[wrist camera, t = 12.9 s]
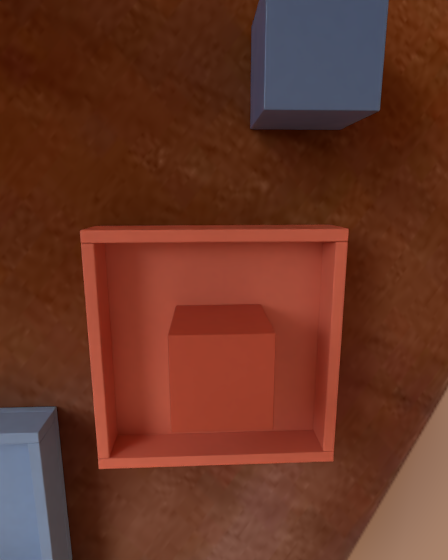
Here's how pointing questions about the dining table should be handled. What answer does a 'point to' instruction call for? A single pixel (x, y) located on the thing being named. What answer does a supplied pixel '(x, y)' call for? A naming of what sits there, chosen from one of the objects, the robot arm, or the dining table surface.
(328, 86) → the blue block
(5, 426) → the blue tray
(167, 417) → the red tray
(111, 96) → the dining table surface
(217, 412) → the red block
